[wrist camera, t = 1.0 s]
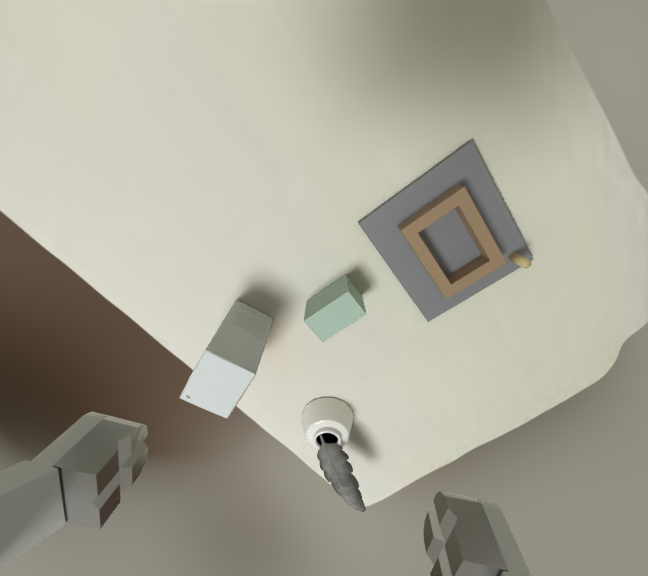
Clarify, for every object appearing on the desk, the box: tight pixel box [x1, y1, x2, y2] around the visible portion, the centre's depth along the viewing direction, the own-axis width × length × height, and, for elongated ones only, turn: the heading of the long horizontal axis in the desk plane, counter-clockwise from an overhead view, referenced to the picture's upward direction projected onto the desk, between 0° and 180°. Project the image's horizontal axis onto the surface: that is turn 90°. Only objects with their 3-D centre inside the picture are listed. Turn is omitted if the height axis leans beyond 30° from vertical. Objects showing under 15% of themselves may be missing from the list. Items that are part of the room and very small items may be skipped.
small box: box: [180, 300, 273, 418], centre depth 41 cm, size 8×6×13 cm
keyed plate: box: [358, 141, 533, 322], centre depth 40 cm, size 18×16×4 cm
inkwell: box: [301, 397, 366, 512], centre depth 51 cm, size 9×18×10 cm, turn 31°
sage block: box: [304, 274, 366, 342], centre depth 42 cm, size 4×7×6 cm, turn 127°
